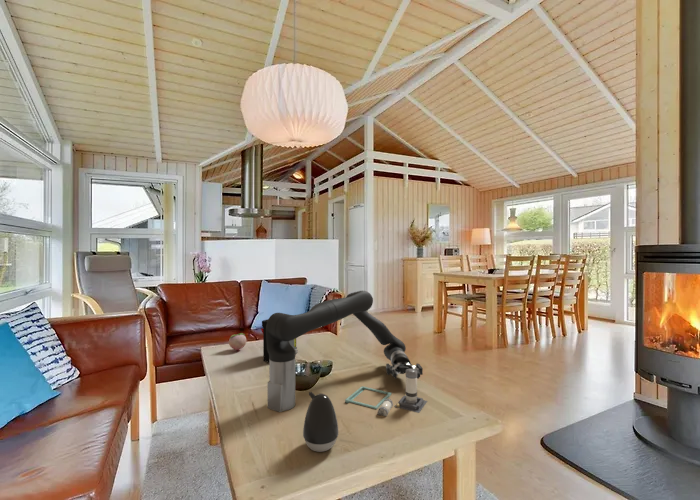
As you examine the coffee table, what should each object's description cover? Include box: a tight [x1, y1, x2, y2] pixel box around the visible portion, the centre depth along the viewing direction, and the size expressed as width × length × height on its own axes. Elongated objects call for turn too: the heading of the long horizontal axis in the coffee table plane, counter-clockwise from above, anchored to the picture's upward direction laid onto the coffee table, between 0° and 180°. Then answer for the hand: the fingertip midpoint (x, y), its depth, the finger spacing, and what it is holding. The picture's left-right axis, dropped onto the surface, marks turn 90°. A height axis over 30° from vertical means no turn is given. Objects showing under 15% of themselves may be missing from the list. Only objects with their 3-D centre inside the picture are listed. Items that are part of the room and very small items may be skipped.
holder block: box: [394, 393, 428, 414], centre depth 124 cm, size 10×9×2 cm
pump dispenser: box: [302, 391, 339, 453], centre depth 100 cm, size 10×10×15 cm
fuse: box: [377, 398, 394, 417], centre depth 119 cm, size 8×3×3 cm, turn 159°
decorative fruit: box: [228, 332, 247, 351], centre depth 187 cm, size 9×8×10 cm
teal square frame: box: [344, 386, 392, 410], centre depth 129 cm, size 14×13×2 cm
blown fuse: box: [405, 369, 418, 405], centre depth 124 cm, size 4×4×12 cm
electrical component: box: [260, 318, 299, 363], centre depth 177 cm, size 18×10×20 cm, turn 148°
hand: (407, 376), depth 132 cm, fingers open, 8 cm apart
